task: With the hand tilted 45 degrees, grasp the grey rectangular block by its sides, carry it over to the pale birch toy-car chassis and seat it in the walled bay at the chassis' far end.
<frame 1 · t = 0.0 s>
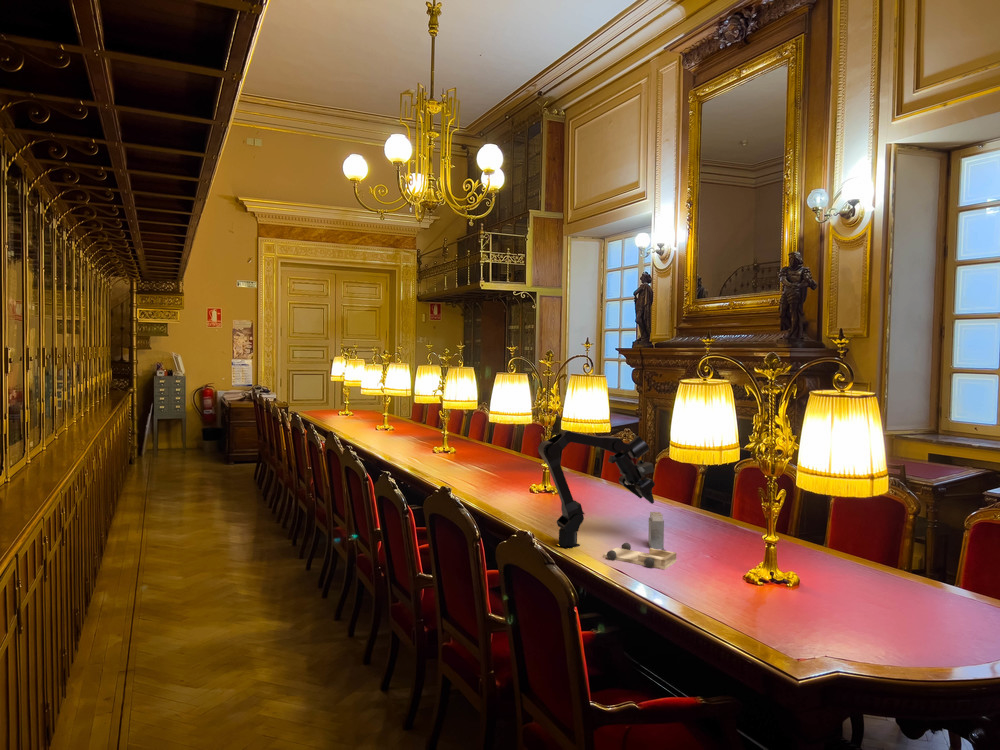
hand: (647, 500, 252), 15 cm above the table, tool tilted 35°, fingers open, 9 cm apart
chassis: (639, 559, 229), on the table
grey rectangular block: (655, 546, 243), on the table
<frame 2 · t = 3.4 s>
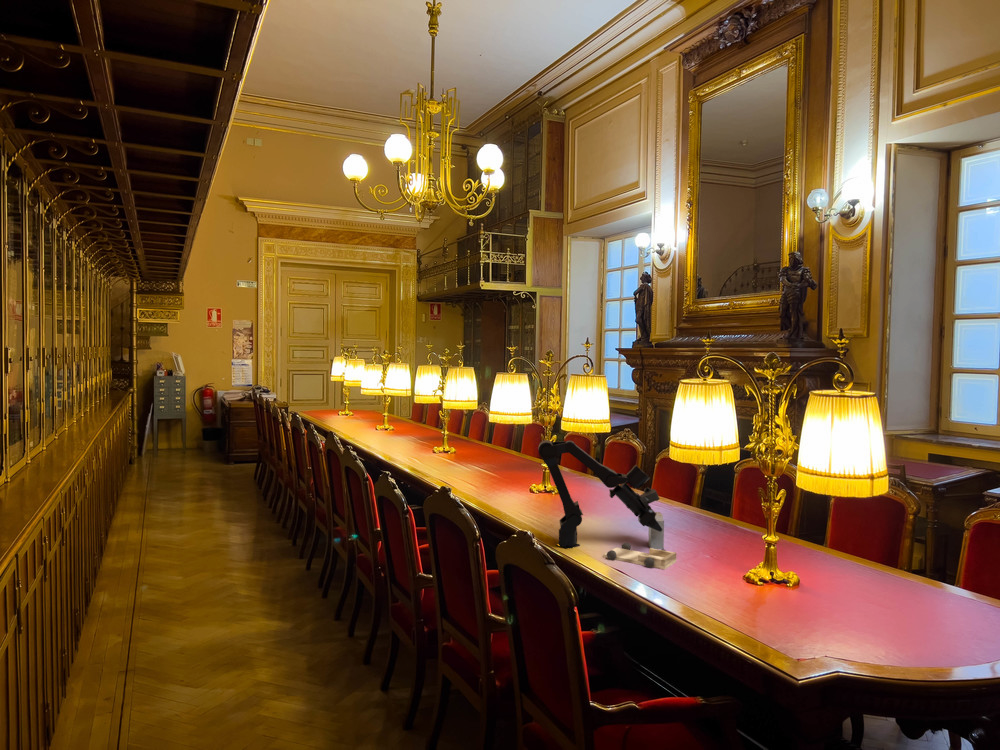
hand: (660, 528, 243), 7 cm above the table, tool tilted 45°, fingers closed on grey rectangular block, 5 cm apart
grey rectangular block: (655, 546, 243), on the table, touching gripper
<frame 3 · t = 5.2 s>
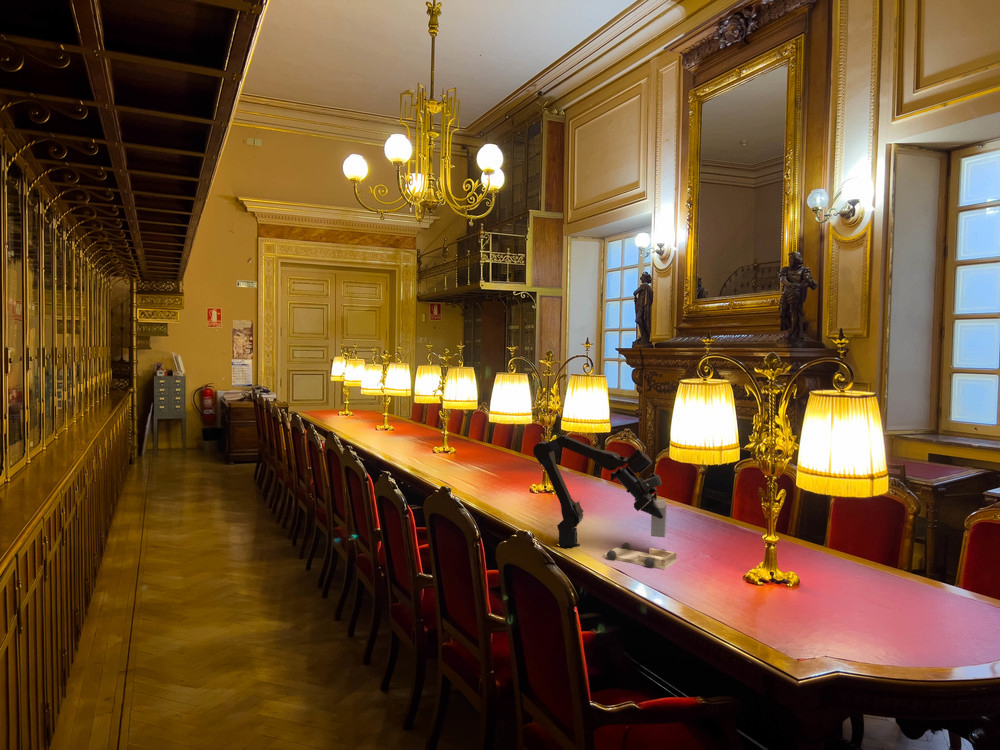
hand: (662, 516, 233), 14 cm above the table, tool tilted 45°, fingers closed on grey rectangular block, 5 cm apart
grey rectangular block: (658, 534, 234), point 7 cm above the table, touching gripper
when the fingers open (9 cm above the table, at t = 7.0 s): grey rectangular block drops 2 cm, resting on chassis.
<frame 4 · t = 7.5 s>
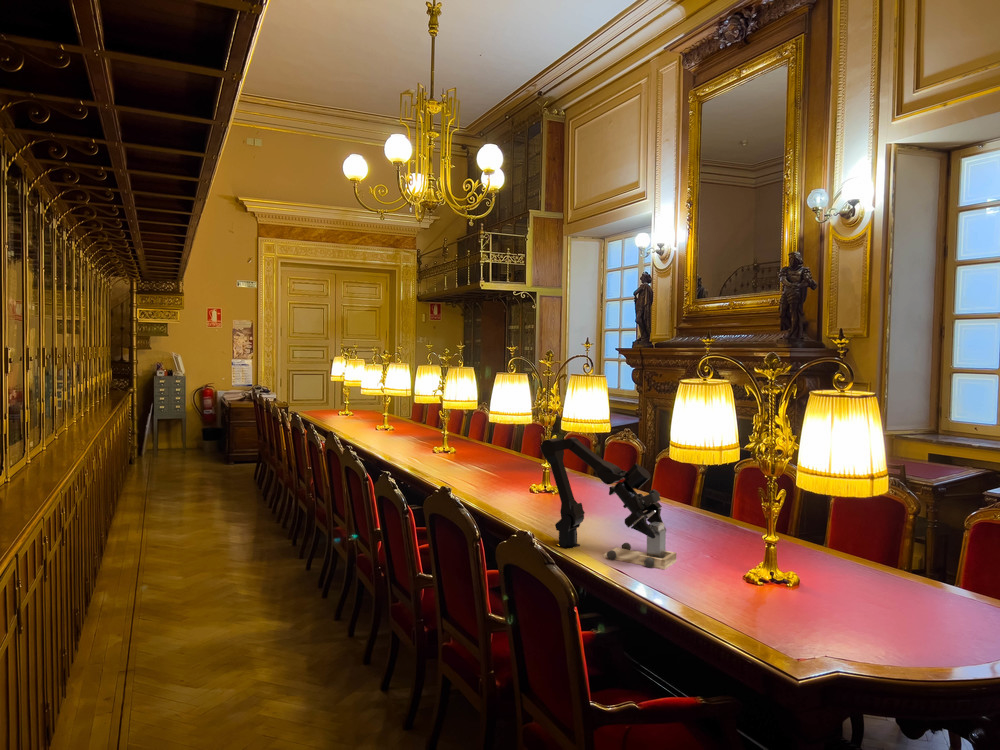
hand: (660, 534, 224), 10 cm above the table, tool tilted 45°, fingers open, 9 cm apart
grey rectangular block: (656, 559, 225), point 1 cm above the table, touching chassis
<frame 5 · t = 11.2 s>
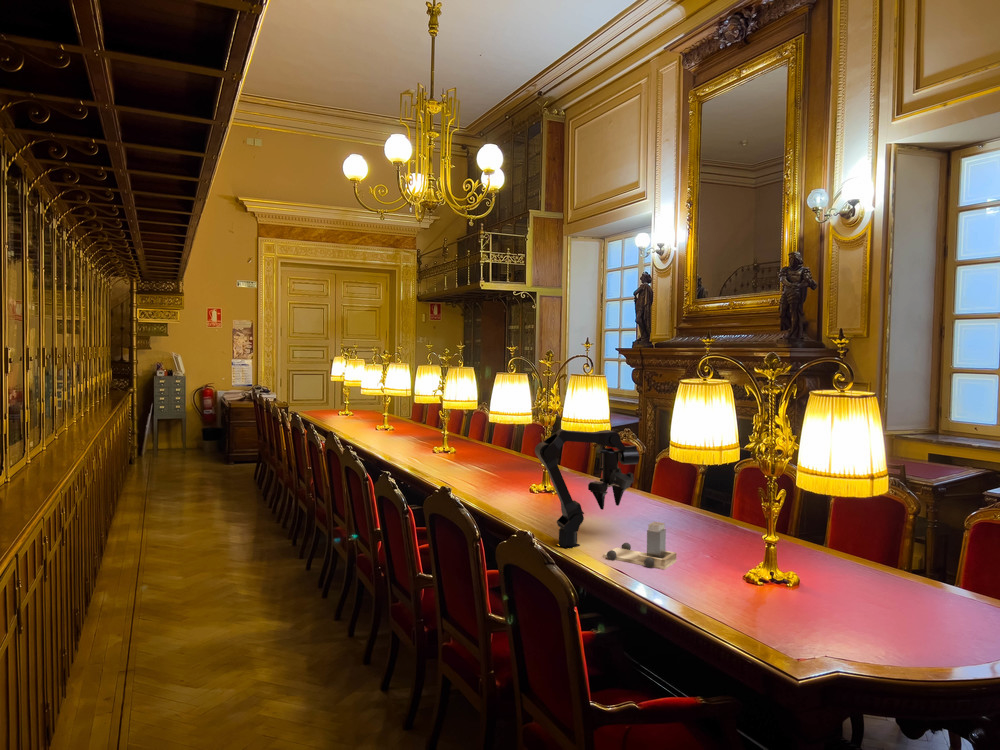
hand: (609, 507, 248), 13 cm above the table, tool pointing down, fingers open, 9 cm apart
nothing on the table moved.
at the end: grey rectangular block inside the target area (0.1 cm from its centre), point 1.0 cm above the table; grey rectangular block tilted 0°; the gripper is holding nothing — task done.
